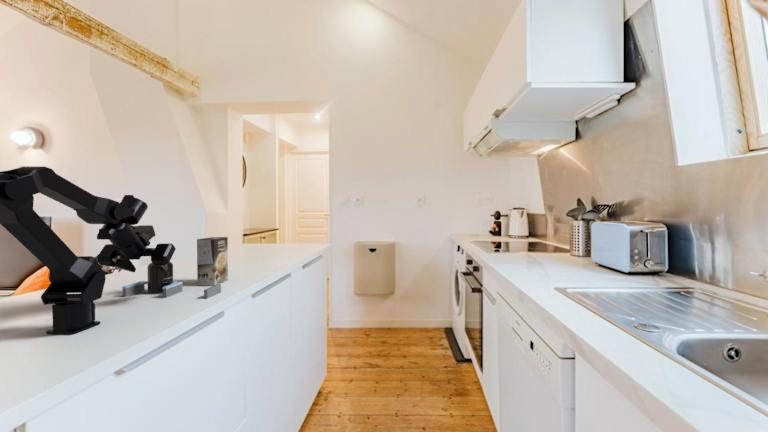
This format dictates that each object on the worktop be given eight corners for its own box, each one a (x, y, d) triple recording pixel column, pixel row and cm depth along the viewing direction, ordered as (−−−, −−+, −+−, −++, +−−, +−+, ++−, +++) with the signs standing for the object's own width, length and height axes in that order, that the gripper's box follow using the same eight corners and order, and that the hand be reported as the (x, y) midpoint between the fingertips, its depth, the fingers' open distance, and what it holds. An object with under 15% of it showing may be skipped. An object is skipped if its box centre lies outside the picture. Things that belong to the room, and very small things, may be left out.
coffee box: (215, 285, 112) (214, 239, 112) (196, 285, 112) (195, 239, 112) (228, 279, 121) (227, 236, 121) (212, 279, 122) (211, 236, 121)
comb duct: (207, 298, 97) (207, 288, 97) (122, 296, 99) (122, 286, 99) (221, 292, 104) (220, 282, 104) (141, 290, 106) (141, 281, 106)
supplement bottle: (171, 292, 103) (170, 255, 103) (145, 295, 101) (144, 256, 100) (175, 287, 110) (174, 252, 109) (151, 289, 107) (150, 253, 107)
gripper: (171, 216, 95) (191, 249, 106) (103, 216, 93) (131, 250, 105) (155, 246, 87) (178, 278, 98) (80, 247, 86) (113, 279, 97)
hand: (150, 270), depth 100 cm, fingers open, 9 cm apart
